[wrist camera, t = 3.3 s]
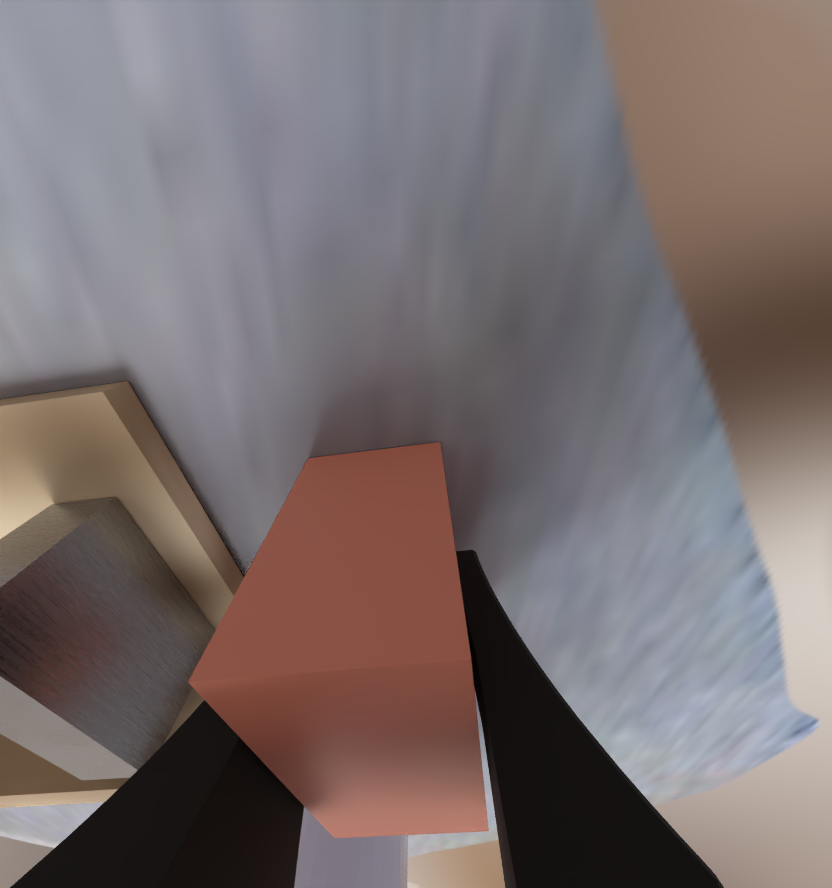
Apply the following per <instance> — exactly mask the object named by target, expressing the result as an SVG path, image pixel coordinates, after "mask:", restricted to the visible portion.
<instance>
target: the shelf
mask: <svg viewBox="0 0 832 888" xmlns="http://www.w3.org/2000/svg"><path fill="white" fill-rule="evenodd" d="M109 497H116V498H117V499H118V501H119V502H120V503H121V505H122V506H123V507H124V509H125V510H126V511H127V513H128V514H129V516H130V517H131V518H132V520H133V521H134V522H135V524H136V525H137V526H138V528H139V529H140V530H141V532H142V533H143V534H144V536H145V537H146V538H147V540H148V541H149V542H150V544H151V545H152V546H153V548H154V549H155V550H156V552H157V553H158V554H159V556H160V557H161V558H162V560H163V561H164V563H165V564H166V565H167V567H168V568H169V569H170V571H171V572H172V573H173V575H174V576H175V577H176V579H177V580H178V581H179V583H180V584H181V585H182V587H183V588H184V589H185V591H186V592H187V593H188V595H189V596H190V597H191V599H192V600H193V601H194V603H195V604H196V605H197V607H198V608H199V609H200V611H201V612H202V614H203V615H204V616H205V618H206V619H207V620H208V622H209V623H210V624H211V626H212V627H213V628H214V630H215V631H216V629H217V627H218V625H219V623H220V621H221V620H222V618H223V616H224V614H225V612H226V610H227V608H228V607H229V605H230V603H231V601H232V599H233V597H234V595H235V594H236V592H237V590H238V588H239V586H240V584H241V582H242V581H243V579H244V577H243V575H242V573H241V572H240V570H239V568H238V567H237V565H236V563H235V561H234V560H233V558H232V556H231V555H230V553H229V551H228V550H227V548H226V546H225V545H224V543H223V541H222V540H221V538H220V536H219V534H218V533H217V531H216V529H215V528H214V526H213V524H212V523H211V521H210V519H209V518H208V516H207V514H206V512H205V511H204V509H203V507H202V506H201V504H200V502H199V501H198V499H197V497H196V496H195V494H194V492H193V491H192V489H191V487H190V485H189V484H188V482H187V480H186V479H185V477H184V475H183V474H182V472H181V470H180V469H179V467H178V465H177V463H176V462H175V460H174V458H173V457H172V455H171V453H170V452H169V450H168V448H167V447H166V445H165V443H164V442H163V440H162V438H161V436H160V435H159V433H158V431H157V430H156V428H155V426H154V425H153V423H152V421H151V420H150V418H149V416H148V414H147V413H146V411H145V409H144V408H143V406H142V404H141V403H140V401H139V399H138V398H137V396H136V394H135V392H134V391H133V389H132V387H131V386H130V384H129V382H128V381H125V382H118V383H111V384H104V385H97V386H90V387H83V388H77V389H70V390H63V391H56V392H49V393H42V394H35V395H28V396H21V397H14V398H7V399H0V539H1V538H3V537H4V536H6V535H7V534H9V533H10V532H12V531H13V530H15V529H16V528H17V527H19V526H20V525H22V524H23V523H25V522H26V521H28V520H29V519H31V518H32V517H34V516H35V515H37V514H38V513H40V512H41V511H43V510H44V509H46V508H47V507H49V506H50V505H52V504H59V503H68V502H76V501H84V500H93V499H101V498H109ZM203 701H204V699H203V698H202V697H201V696H200V694H199V693H198V692H197V691H196V690H195V689H194V688H192V690H191V692H190V694H189V696H188V698H187V700H186V702H185V704H184V706H183V708H182V710H181V711H180V713H179V715H178V717H177V719H176V721H175V723H174V725H173V727H172V729H171V731H170V733H169V735H168V737H167V738H166V740H165V742H166V741H167V740H168V739H169V738H170V737H171V736H172V735H173V733H174V732H175V731H176V730H177V729H178V728H179V727H180V726H181V725H182V724H183V723H184V722H185V721H186V720H187V719H188V717H189V716H190V715H191V714H192V713H193V712H194V711H195V710H196V709H197V707H198V706H199V705H200V704H201V703H202V702H203ZM165 742H164V743H165ZM128 779H129V778H114V779H97V780H81V779H79V778H77V777H75V776H74V775H72V774H70V773H68V772H67V771H65V770H63V769H61V768H60V767H58V766H56V765H54V764H52V763H51V762H49V761H47V760H45V759H44V758H42V757H40V756H38V755H37V754H35V753H33V752H31V751H30V750H28V749H26V748H24V747H23V746H21V745H19V744H17V743H16V742H14V741H12V740H10V739H9V738H7V737H5V736H3V735H2V734H0V808H5V807H22V806H40V805H58V804H75V803H93V802H105V801H106V800H107V799H109V798H110V797H111V796H112V795H113V794H114V793H115V792H116V791H117V790H118V789H119V788H120V787H121V786H122V785H123V784H124V783H125V782H126V781H127V780H128Z"/></svg>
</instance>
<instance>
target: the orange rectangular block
mask: <svg viewBox="0 0 832 888" xmlns="http://www.w3.org/2000/svg"><path fill="white" fill-rule="evenodd" d="M188 683H189V684H190V685H191V686H192V687H193V688H194V689H195V690H196V691H197V692H198V693H199V694H200V696H201V697H202V698H203V699H204V700H205V701H206V702H207V703H208V704H209V705H210V706H211V707H212V708H213V709H214V710H215V712H216V713H217V714H218V715H219V716H220V717H221V718H222V719H223V720H224V721H225V722H226V723H227V724H228V725H229V726H230V728H231V729H232V730H233V731H234V732H235V733H236V734H237V735H238V736H239V737H240V738H241V739H242V740H243V741H244V742H245V744H246V745H247V746H248V747H249V748H250V749H251V750H252V751H253V752H254V753H255V754H256V755H257V756H258V757H259V758H260V760H261V761H262V762H263V763H264V764H265V765H266V766H267V767H268V768H269V769H270V770H271V771H272V772H273V773H274V774H275V776H276V777H277V778H278V779H279V780H280V781H281V782H282V783H283V784H284V785H285V786H286V787H287V788H288V789H289V790H290V792H291V793H292V794H293V795H294V796H295V797H296V798H297V799H298V800H299V801H300V802H301V803H302V804H303V805H304V806H305V808H306V809H307V810H308V811H309V812H310V813H311V814H312V815H313V816H314V817H315V818H316V819H317V820H318V821H319V822H320V824H321V825H322V826H323V827H324V828H325V829H326V830H327V831H328V832H329V833H330V834H331V835H332V836H333V837H334V838H352V837H373V836H394V835H416V834H437V833H459V832H480V831H489V830H488V820H487V810H486V800H485V791H484V781H483V771H482V761H481V751H480V741H479V731H478V721H477V711H476V701H475V691H474V682H473V672H472V662H471V654H470V647H469V640H468V633H467V626H466V619H465V612H464V605H463V598H462V591H461V584H460V577H459V570H458V563H457V556H456V549H455V542H454V535H453V528H452V521H451V514H450V507H449V500H448V493H447V486H446V479H445V472H444V465H443V458H442V452H441V445H440V442H436V443H428V444H420V445H412V446H403V447H395V448H387V449H379V450H371V451H363V452H355V453H346V454H338V455H330V456H322V457H314V458H308V460H307V461H306V463H305V465H304V467H303V469H302V471H301V473H300V475H299V476H298V478H297V480H296V482H295V484H294V486H293V488H292V489H291V491H290V493H289V495H288V497H287V499H286V501H285V502H284V504H283V506H282V508H281V510H280V512H279V514H278V515H277V517H276V519H275V521H274V523H273V525H272V527H271V528H270V530H269V532H268V534H267V536H266V538H265V540H264V541H263V543H262V545H261V547H260V549H259V551H258V553H257V555H256V556H255V558H254V560H253V562H252V564H251V566H250V568H249V569H248V571H247V573H246V575H245V577H244V579H243V581H242V582H241V584H240V586H239V588H238V590H237V592H236V594H235V595H234V597H233V599H232V601H231V603H230V605H229V607H228V608H227V610H226V612H225V614H224V616H223V618H222V620H221V621H220V623H219V625H218V627H217V629H216V631H215V633H214V635H213V636H212V638H211V640H210V642H209V644H208V646H207V648H206V649H205V651H204V653H203V655H202V657H201V659H200V661H199V662H198V664H197V666H196V668H195V670H194V672H193V674H192V675H191V677H190V679H189V681H188Z"/></svg>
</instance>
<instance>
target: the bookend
mask: <svg viewBox="0 0 832 888" xmlns="http://www.w3.org/2000/svg"><path fill="white" fill-rule="evenodd" d="M214 633H215V630H214V628H213V627H212V626H211V624H210V623H209V622H208V620H207V619H206V618H205V616H204V615H203V614H202V612H201V611H200V609H199V608H198V607H197V605H196V604H195V603H194V601H193V600H192V599H191V597H190V596H189V595H188V593H187V592H186V591H185V589H184V588H183V587H182V585H181V584H180V583H179V581H178V580H177V579H176V577H175V576H174V575H173V573H172V572H171V571H170V569H169V568H168V567H167V565H166V564H165V563H164V561H163V560H162V558H161V557H160V556H159V554H158V553H157V552H156V550H155V549H154V548H153V546H152V545H151V544H150V542H149V541H148V540H147V538H146V537H145V536H144V534H143V533H142V532H141V530H140V529H139V528H138V526H137V525H136V524H135V522H134V521H133V520H132V518H131V517H130V516H129V514H128V513H127V511H126V510H125V509H124V507H123V506H122V505H121V503H120V502H119V501H118V499H117V498H116V497H109V498H101V499H93V500H84V501H76V502H68V503H59V504H52V505H50V506H49V507H47V508H46V509H44V510H43V511H41V512H40V513H38V514H37V515H35V516H34V517H32V518H31V519H29V520H28V521H26V522H25V523H23V524H22V525H20V526H19V527H17V528H16V529H15V530H13V531H12V532H10V533H9V534H7V535H6V536H4V537H3V538H1V539H0V734H2V735H3V736H5V737H7V738H9V739H10V740H12V741H14V742H16V743H17V744H19V745H21V746H23V747H24V748H26V749H28V750H30V751H31V752H33V753H35V754H37V755H38V756H40V757H42V758H44V759H45V760H47V761H49V762H51V763H52V764H54V765H56V766H58V767H60V768H61V769H63V770H65V771H67V772H68V773H70V774H72V775H74V776H75V777H77V778H79V779H81V780H97V779H114V778H130V777H131V776H132V775H133V774H134V773H135V772H136V771H138V770H139V769H140V768H141V767H142V766H143V765H144V764H145V763H146V762H147V761H148V760H149V759H150V757H151V756H152V755H153V754H154V753H155V752H156V751H157V750H158V749H159V748H160V747H161V746H162V745H163V744H164V742H165V740H166V738H167V737H168V735H169V733H170V731H171V729H172V727H173V725H174V723H175V721H176V719H177V717H178V715H179V713H180V711H181V710H182V708H183V706H184V704H185V702H186V700H187V698H188V696H189V694H190V692H191V690H192V688H193V687H192V686H191V685H190V684H189V683H188V681H189V679H190V677H191V675H192V674H193V672H194V670H195V668H196V666H197V664H198V662H199V661H200V659H201V657H202V655H203V653H204V651H205V649H206V648H207V646H208V644H209V642H210V640H211V638H212V636H213V635H214Z"/></svg>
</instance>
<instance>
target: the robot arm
mask: <svg viewBox="0 0 832 888" xmlns="http://www.w3.org/2000/svg"><path fill="white" fill-rule="evenodd" d="M456 556H457V563H458V570H459V577H460V584H461V591H462V598H463V605H464V612H465V619H466V626H467V633H468V640H469V647H470V654H471V662H472V672H473V682H474V688H475V692H476V697H477V702H478V706H479V711H480V716H481V722H482V727H483V733H484V739H485V746H486V753H487V760H488V767H489V774H490V781H491V788H492V795H493V803H494V810H495V817H496V824H497V831H498V838H499V845H500V852H501V859H502V867H503V874H504V881H505V887H506V888H724V887H723V886H722V884H721V883H720V881H719V880H718V878H717V877H716V875H715V874H714V873H713V872H712V870H711V869H710V868H709V867H708V866H707V865H706V864H705V863H704V862H703V860H702V859H701V858H700V857H699V856H698V855H697V854H696V853H695V852H694V851H693V850H692V849H691V847H689V845H688V844H687V843H686V842H685V841H684V840H683V839H682V838H681V837H680V836H679V835H678V834H677V832H676V831H675V830H674V829H673V828H672V827H671V826H670V825H669V824H668V822H667V821H666V820H665V819H664V818H663V817H662V816H661V815H660V813H659V812H658V811H657V810H656V809H655V808H654V807H653V806H652V805H651V804H650V802H649V801H648V800H647V799H646V798H645V797H644V795H643V794H642V793H641V792H640V791H639V790H638V789H637V787H636V786H635V785H634V784H633V783H632V782H631V781H630V779H629V778H628V777H627V776H626V775H625V774H624V772H623V771H622V770H621V769H620V768H619V767H618V766H617V764H616V763H615V762H614V761H613V759H612V758H611V757H610V756H609V755H608V753H607V752H606V751H605V750H604V748H603V747H602V746H601V745H600V744H599V742H598V741H597V740H596V739H595V738H594V736H593V735H592V734H591V733H590V731H589V730H588V729H587V728H586V727H585V725H584V724H583V723H582V722H581V720H580V719H579V718H578V717H577V715H576V714H575V713H574V712H573V710H572V709H571V708H570V706H569V705H568V704H567V702H566V701H565V700H564V698H563V697H562V696H561V695H560V693H559V692H558V691H557V689H556V688H555V686H554V685H553V684H552V682H551V681H550V680H549V678H548V677H547V676H546V674H545V673H544V671H543V670H542V669H541V667H540V666H539V664H538V663H537V661H536V660H535V658H534V657H533V656H532V654H531V653H530V651H529V650H528V648H527V647H526V645H525V643H524V642H523V640H522V639H521V637H520V636H519V634H518V633H517V631H516V629H515V628H514V626H513V625H512V623H511V621H510V620H509V618H508V616H507V615H506V613H505V611H504V609H503V608H502V606H501V604H500V602H499V601H498V599H497V597H496V595H495V593H494V592H493V590H492V588H491V586H490V584H489V582H488V580H487V578H486V576H485V573H484V571H483V569H482V567H481V564H480V562H479V559H478V556H477V553H476V552H475V551H473V550H467V551H457V552H456ZM407 866H408V835H394V836H373V837H352V838H334V837H333V836H332V835H331V834H330V833H329V832H328V831H327V830H326V829H325V828H324V827H323V826H322V825H321V824H320V822H319V821H318V820H317V819H316V818H315V817H314V816H313V815H312V814H311V813H310V812H309V811H308V810H307V809H306V808H305V806H304V805H303V804H302V803H301V802H300V801H299V800H298V799H297V798H296V797H295V796H294V795H293V794H292V793H291V792H290V790H289V789H288V788H287V787H286V786H285V785H284V784H283V783H282V782H281V781H280V780H279V779H278V778H277V777H276V776H275V774H274V773H273V772H272V771H271V770H270V769H269V768H268V767H267V766H266V765H265V764H264V763H263V762H262V761H261V760H260V758H259V757H258V756H257V755H256V754H255V753H254V752H253V751H252V750H251V749H250V748H249V747H248V746H247V745H246V744H245V742H244V741H243V740H242V739H241V738H240V737H239V736H238V735H237V734H236V733H235V732H234V731H233V730H232V729H231V728H230V726H229V725H228V724H227V723H226V722H225V721H224V720H223V719H222V718H221V717H220V716H219V715H218V714H217V713H216V712H215V710H214V709H213V708H212V707H211V706H210V705H209V704H208V703H207V702H206V701H205V700H204V701H203V702H202V703H201V704H200V705H199V706H198V707H197V709H196V710H195V711H194V712H193V713H192V714H191V715H190V716H189V717H188V719H187V720H186V721H185V722H184V723H183V724H182V725H181V726H180V727H179V728H178V729H177V730H176V731H175V732H174V733H173V735H172V736H171V737H170V738H169V739H168V740H167V741H166V742H165V743H164V744H163V745H162V746H161V747H160V748H159V749H158V750H157V751H156V752H155V753H154V754H153V755H152V756H151V757H150V759H149V760H148V761H147V762H146V763H145V764H144V765H143V766H142V767H141V768H140V769H139V770H138V771H136V772H135V773H134V774H133V775H132V776H131V777H130V778H129V779H128V780H127V781H126V782H125V783H124V784H123V785H122V786H121V787H120V788H119V789H118V790H117V791H116V792H115V793H114V794H113V795H112V796H111V797H110V798H109V799H107V800H106V801H105V802H104V803H103V804H102V805H101V806H100V807H99V808H98V809H97V810H96V811H95V812H94V813H93V814H92V815H91V816H90V817H89V818H88V819H86V820H85V821H84V822H83V823H82V824H81V825H80V826H79V827H78V828H77V829H76V830H75V831H73V832H72V833H71V834H70V835H69V836H68V837H67V838H66V839H65V840H63V841H62V842H61V843H60V844H59V845H58V846H57V847H56V848H54V849H53V850H52V851H51V852H50V853H49V854H48V855H47V856H46V857H44V858H43V859H42V860H41V861H40V862H39V863H37V865H35V866H34V867H33V868H32V869H31V870H30V871H28V872H27V873H26V874H25V875H24V876H23V877H22V878H21V879H19V880H18V881H17V882H16V883H15V884H14V885H13V886H12V887H10V888H407Z"/></svg>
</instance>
